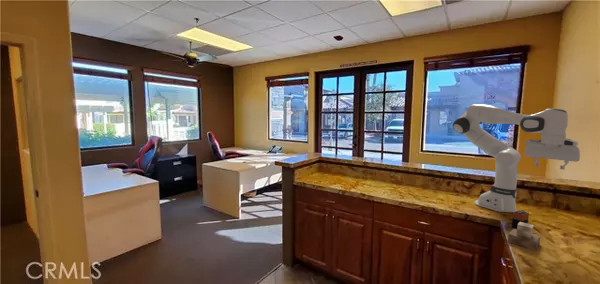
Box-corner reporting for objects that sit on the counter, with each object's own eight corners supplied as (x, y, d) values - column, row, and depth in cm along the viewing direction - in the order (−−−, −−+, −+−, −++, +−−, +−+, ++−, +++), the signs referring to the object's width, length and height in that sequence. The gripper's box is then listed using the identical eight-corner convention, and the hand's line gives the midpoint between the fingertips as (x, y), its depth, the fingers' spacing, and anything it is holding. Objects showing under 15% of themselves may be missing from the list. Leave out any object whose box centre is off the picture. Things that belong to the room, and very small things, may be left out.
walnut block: (507, 241, 124) (508, 233, 124) (512, 236, 131) (513, 228, 130) (535, 250, 117) (536, 242, 116) (539, 243, 123) (540, 235, 123)
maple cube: (516, 234, 124) (517, 224, 123) (518, 231, 127) (520, 221, 126) (530, 238, 120) (531, 228, 119) (532, 235, 123) (533, 225, 122)
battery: (510, 228, 140) (513, 210, 139) (517, 226, 143) (519, 208, 142) (520, 231, 136) (522, 213, 135) (527, 229, 139) (529, 211, 138)
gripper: (524, 139, 137) (521, 164, 139) (581, 143, 122) (577, 172, 123) (527, 138, 141) (524, 163, 143) (582, 142, 126) (578, 170, 127)
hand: (549, 167), depth 133 cm, fingers open, 8 cm apart
